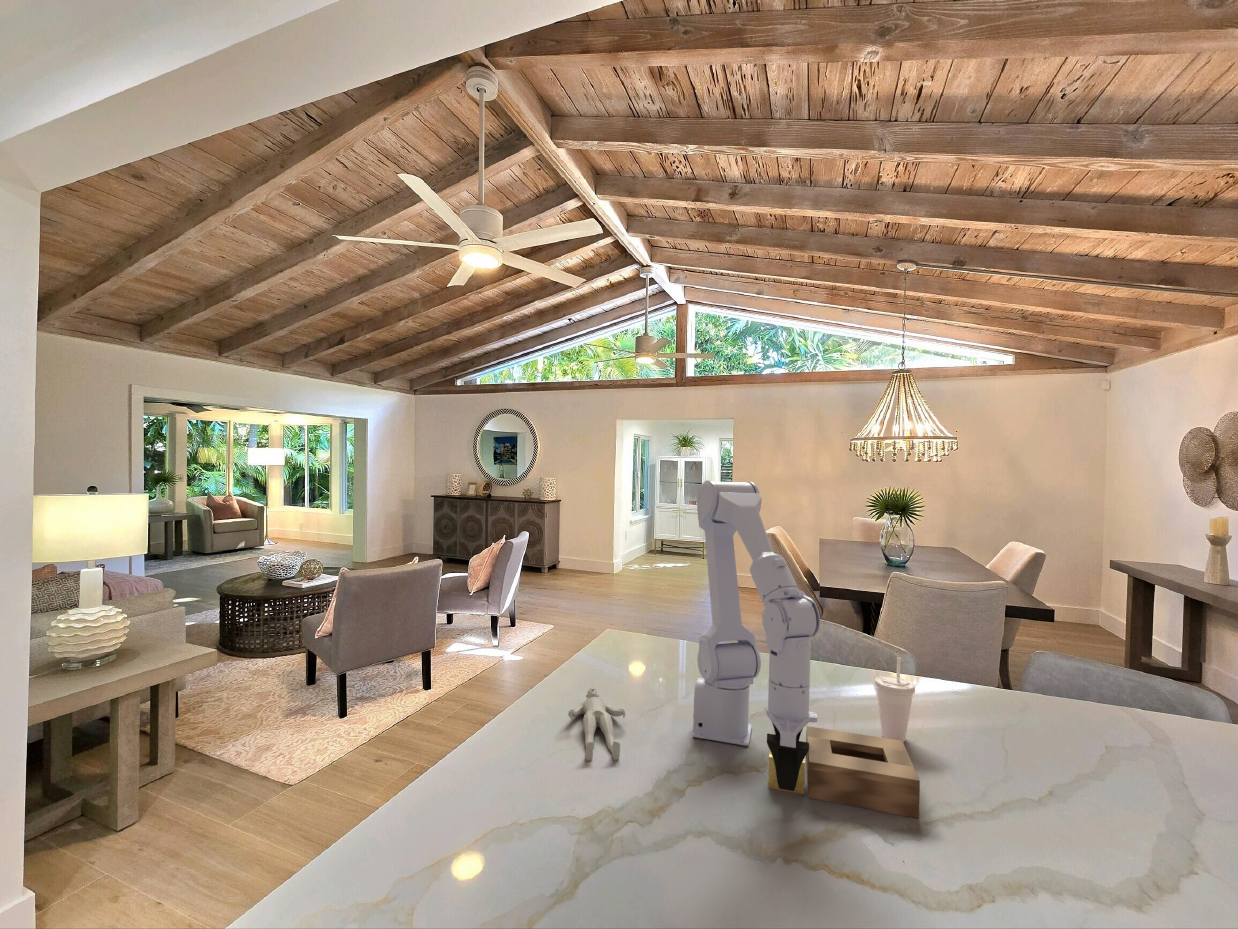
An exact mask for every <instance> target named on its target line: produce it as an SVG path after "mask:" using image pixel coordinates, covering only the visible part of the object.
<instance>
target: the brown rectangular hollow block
mask: <svg viewBox="0 0 1238 929" xmlns="http://www.w3.org/2000/svg"><path fill="white" fill-rule="evenodd" d="M805 742H808V743H809V751H808V753H807V755H806V756H805V769H806V782H807V795H808V796H807V797H808V798H809V799H813V800H819V801H823V802H828V803H829V802H830V803H836V804H840V805H846V806H852V807H854V808H855V807H856V808H862V809H867V810H872V811H878V812H882V813H883V812H884V813H888V814H892V815H898V816H902V817H903V816H904V817H909V818H914V819H919V818H920V795H921V794H920V792H921V789H920V788H921V787H920V786H921V785H920V783H921V781H920V778H919V776H918V773H917V771H916V769H915V767H914V764H913V762H912V760H911V758H910V755H909V752H908V750H907V749H906V746H905V744H904V742H903V741H901V740H894V739H888V738H883V737H882V736H874V735H865V734H862V733H861V734H860V733H856V732H855V733H854V732H849V731H848V732H847V731H841V730H834V729H827V728H824V727H823V728H821V727H815V726H809V725H806V737H805Z"/></svg>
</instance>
